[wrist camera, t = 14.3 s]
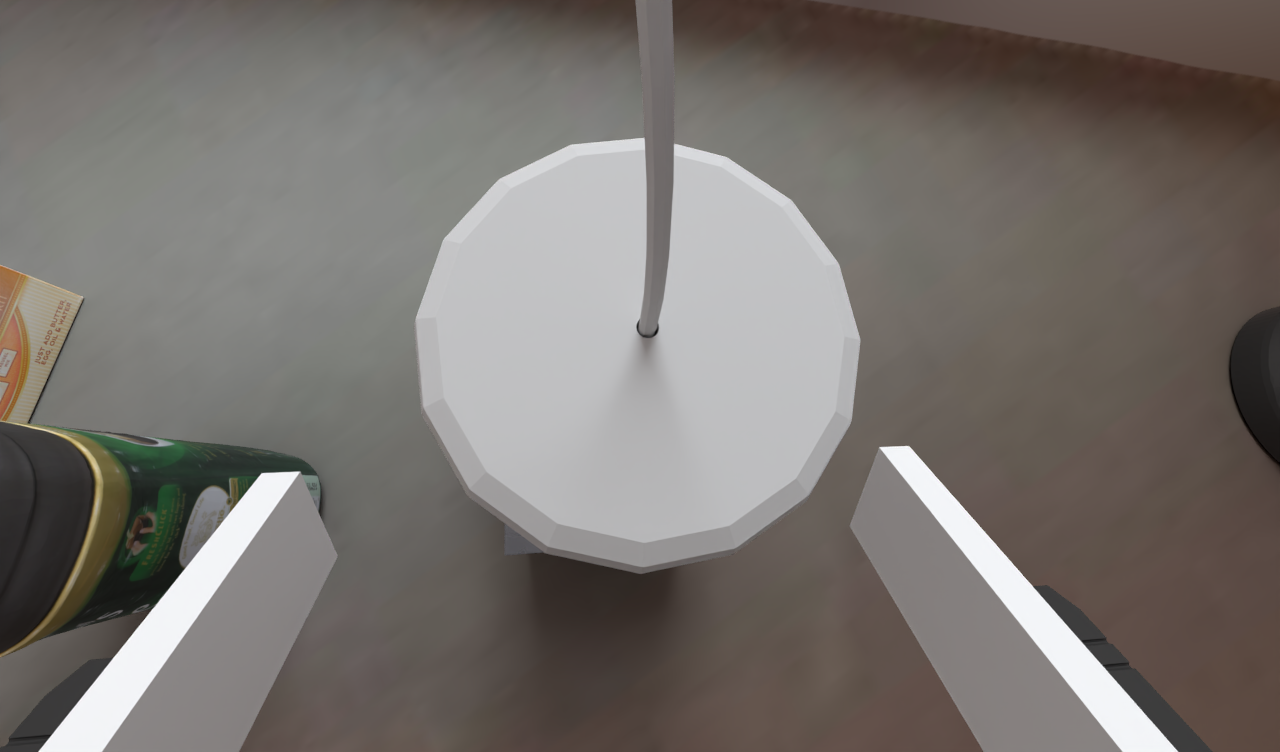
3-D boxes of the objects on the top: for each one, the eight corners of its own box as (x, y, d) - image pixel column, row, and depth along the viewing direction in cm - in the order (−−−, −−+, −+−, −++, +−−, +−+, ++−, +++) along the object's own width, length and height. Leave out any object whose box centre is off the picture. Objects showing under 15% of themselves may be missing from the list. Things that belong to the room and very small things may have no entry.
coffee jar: (140, 573, 29) (-609, 711, 11) (184, 440, 31) (-392, 371, 13) (308, 590, 30) (-137, 747, 12) (342, 458, 31) (4, 417, 13)
